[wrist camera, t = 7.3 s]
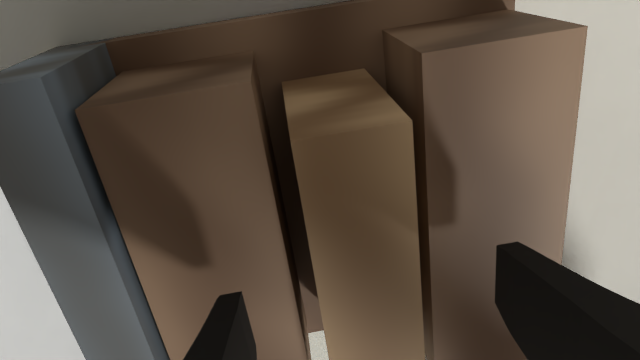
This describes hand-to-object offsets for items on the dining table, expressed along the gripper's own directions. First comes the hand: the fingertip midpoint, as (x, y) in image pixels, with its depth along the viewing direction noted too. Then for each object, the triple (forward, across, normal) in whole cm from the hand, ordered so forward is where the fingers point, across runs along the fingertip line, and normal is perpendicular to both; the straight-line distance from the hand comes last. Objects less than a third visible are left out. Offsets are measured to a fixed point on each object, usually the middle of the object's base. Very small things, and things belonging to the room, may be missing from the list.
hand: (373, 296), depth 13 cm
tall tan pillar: (+6, 0, 0) cm, 6 cm away
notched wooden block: (+7, 0, 0) cm, 7 cm away
